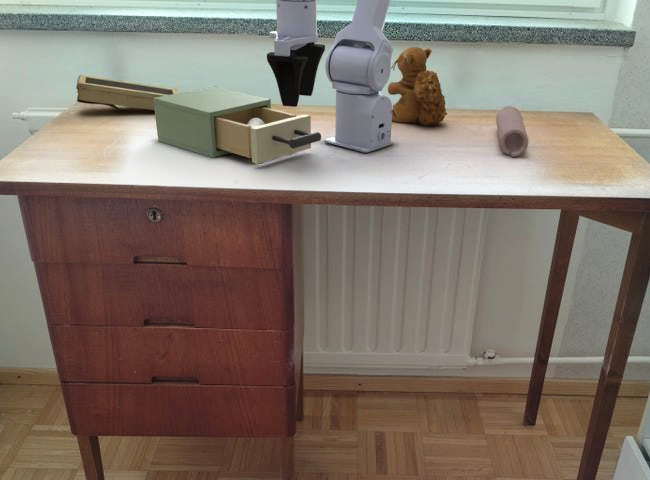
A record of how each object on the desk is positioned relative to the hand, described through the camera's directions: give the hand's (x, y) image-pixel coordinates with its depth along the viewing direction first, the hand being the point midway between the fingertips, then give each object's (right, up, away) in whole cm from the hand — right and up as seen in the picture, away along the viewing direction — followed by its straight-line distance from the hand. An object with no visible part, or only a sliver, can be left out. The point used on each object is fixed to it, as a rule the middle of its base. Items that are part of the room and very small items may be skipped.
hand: (297, 100), depth 104 cm
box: (-34, +10, +32) cm, 48 cm away
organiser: (-16, -1, +15) cm, 22 cm away
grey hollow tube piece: (+37, 0, +20) cm, 42 cm away
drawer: (-6, -5, +8) cm, 11 cm away
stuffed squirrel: (+21, +8, +32) cm, 39 cm away
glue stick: (-7, -3, +8) cm, 11 cm away
